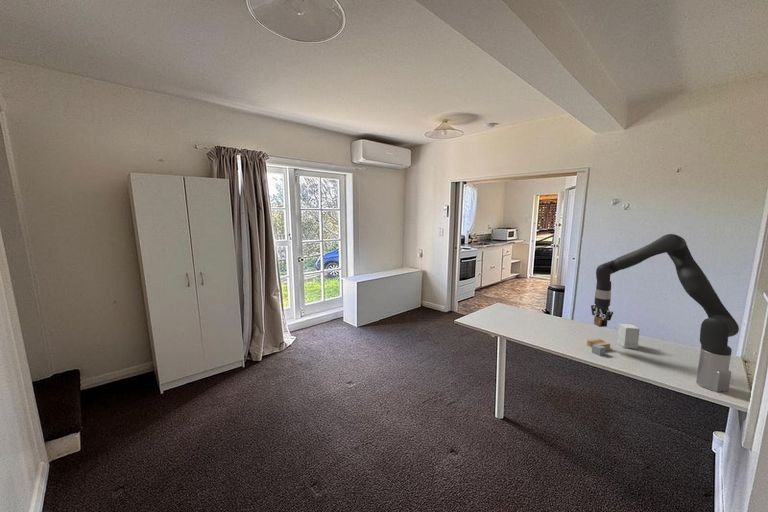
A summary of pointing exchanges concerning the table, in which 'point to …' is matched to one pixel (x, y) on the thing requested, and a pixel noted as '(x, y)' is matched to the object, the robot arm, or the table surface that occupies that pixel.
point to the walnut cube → (598, 321)
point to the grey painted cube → (598, 349)
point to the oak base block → (598, 341)
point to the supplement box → (628, 336)
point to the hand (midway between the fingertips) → (600, 324)
